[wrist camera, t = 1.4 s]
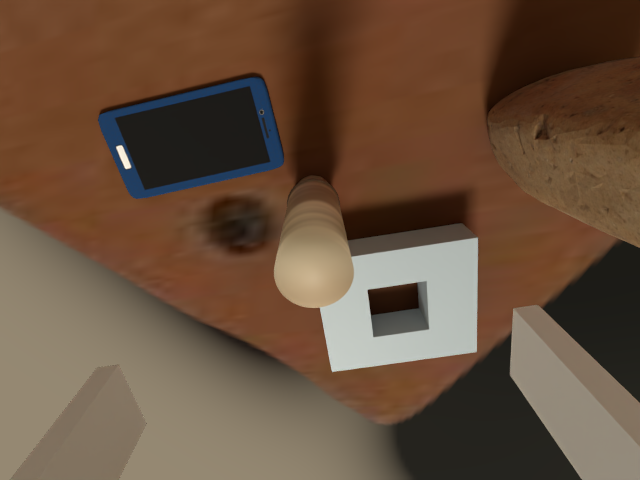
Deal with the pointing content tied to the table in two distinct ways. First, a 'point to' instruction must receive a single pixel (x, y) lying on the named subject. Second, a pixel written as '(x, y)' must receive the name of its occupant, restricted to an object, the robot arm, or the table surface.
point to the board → (416, 324)
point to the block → (577, 144)
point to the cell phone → (194, 138)
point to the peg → (313, 246)
